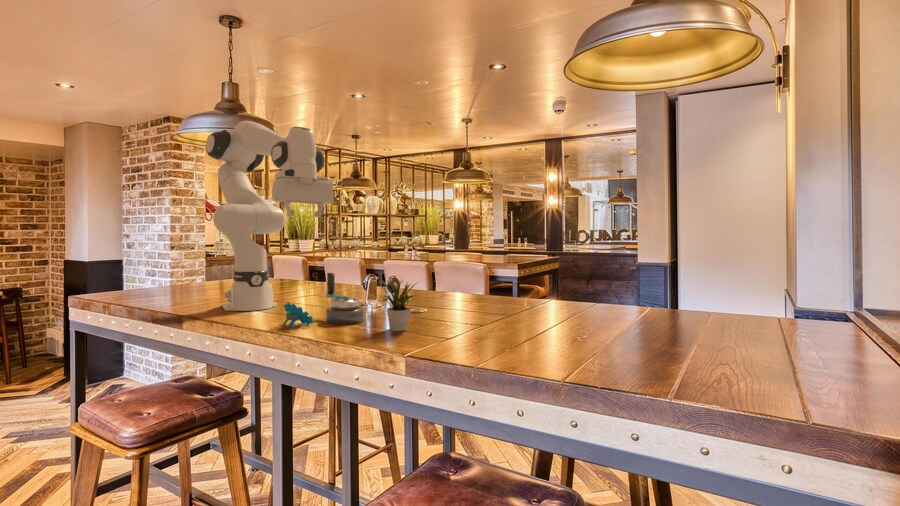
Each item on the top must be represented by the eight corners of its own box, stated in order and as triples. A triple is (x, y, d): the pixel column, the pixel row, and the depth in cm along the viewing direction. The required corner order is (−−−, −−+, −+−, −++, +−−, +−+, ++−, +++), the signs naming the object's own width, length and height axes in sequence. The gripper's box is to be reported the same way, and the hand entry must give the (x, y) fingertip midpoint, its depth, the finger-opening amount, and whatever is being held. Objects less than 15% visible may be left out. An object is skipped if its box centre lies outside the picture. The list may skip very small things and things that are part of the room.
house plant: (360, 331, 142) (360, 276, 141) (384, 323, 155) (384, 272, 154) (404, 336, 137) (404, 278, 136) (425, 327, 150) (425, 274, 149)
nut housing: (319, 320, 159) (319, 307, 159) (352, 316, 167) (352, 303, 167) (336, 326, 150) (336, 312, 150) (370, 321, 158) (370, 308, 158)
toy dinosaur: (320, 321, 150) (297, 300, 145) (309, 336, 146) (285, 316, 142) (301, 321, 157) (279, 301, 152) (290, 336, 154) (267, 316, 149)
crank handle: (364, 308, 158) (364, 275, 157) (339, 311, 152) (338, 277, 152) (341, 302, 170) (341, 272, 169) (317, 305, 164) (316, 273, 164)
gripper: (328, 179, 172) (329, 218, 171) (269, 173, 159) (270, 216, 158) (336, 176, 167) (337, 216, 166) (276, 170, 154) (277, 213, 153)
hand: (304, 216), depth 162 cm, fingers open, 8 cm apart
